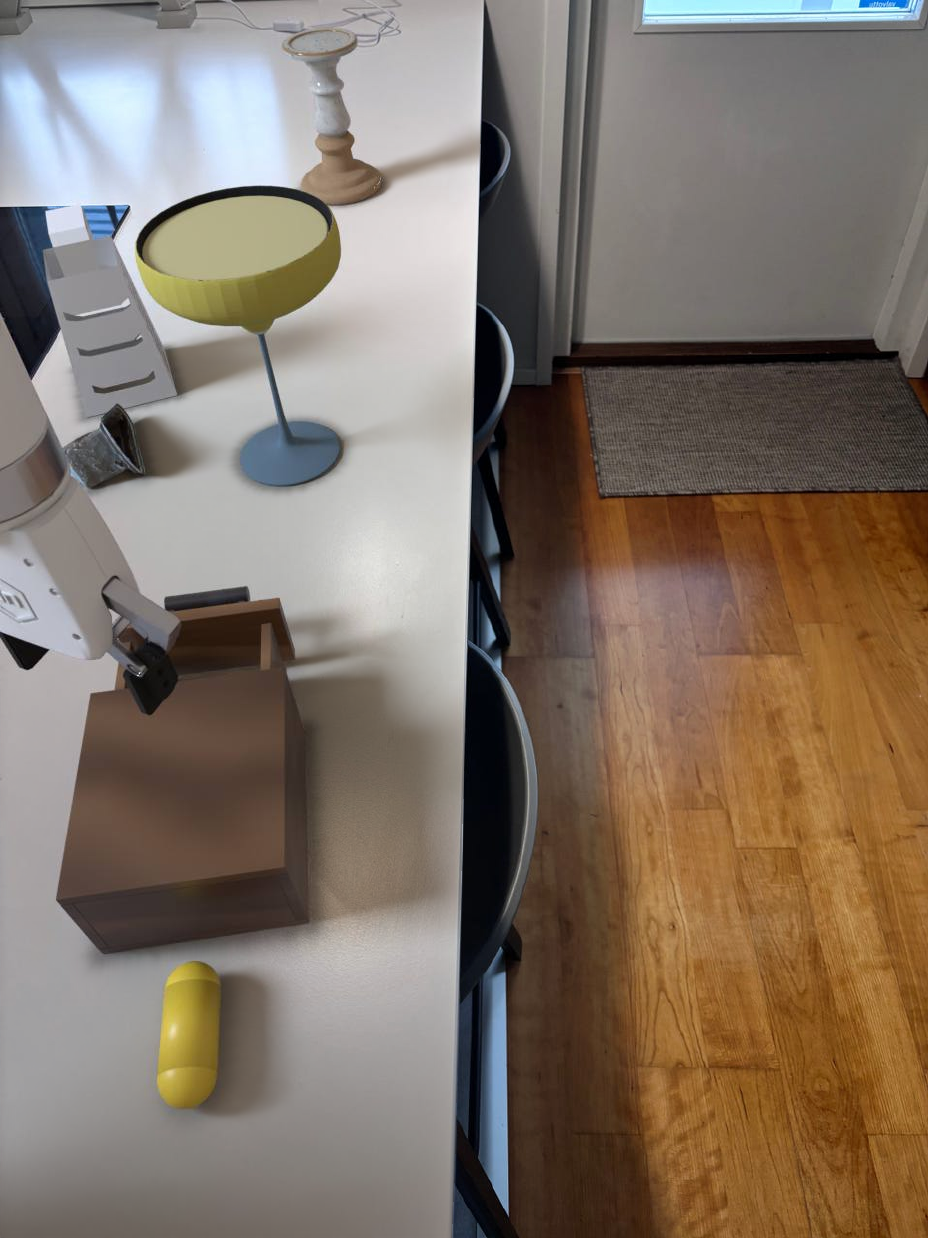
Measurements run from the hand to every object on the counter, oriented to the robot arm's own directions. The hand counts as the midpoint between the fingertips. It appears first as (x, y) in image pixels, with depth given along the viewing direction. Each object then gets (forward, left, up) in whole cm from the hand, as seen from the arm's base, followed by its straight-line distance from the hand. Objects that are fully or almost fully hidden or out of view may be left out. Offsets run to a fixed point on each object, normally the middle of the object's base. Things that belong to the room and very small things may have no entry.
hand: (99, 675), depth 61 cm
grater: (+21, +57, -17) cm, 63 cm away
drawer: (+7, +6, -16) cm, 18 cm away
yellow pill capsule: (-7, -17, -17) cm, 25 cm away
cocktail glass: (+29, +32, -17) cm, 47 cm away
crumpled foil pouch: (+13, +45, -17) cm, 50 cm away
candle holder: (+68, +83, -17) cm, 109 cm away
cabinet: (+1, -4, -17) cm, 17 cm away
